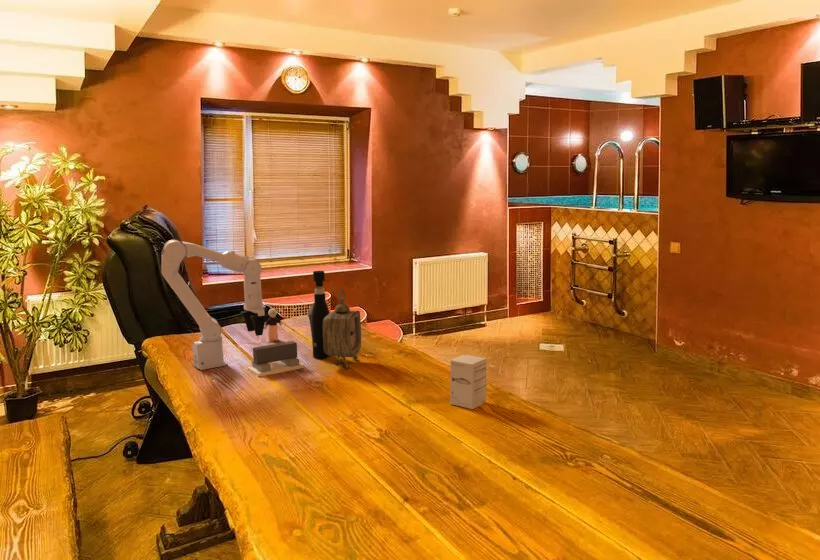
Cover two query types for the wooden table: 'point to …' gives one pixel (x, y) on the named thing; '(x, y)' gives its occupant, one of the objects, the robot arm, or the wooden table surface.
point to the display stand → (275, 367)
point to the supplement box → (468, 381)
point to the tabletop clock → (342, 332)
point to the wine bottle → (318, 316)
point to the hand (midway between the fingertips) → (255, 333)
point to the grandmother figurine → (272, 325)
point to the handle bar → (274, 352)
